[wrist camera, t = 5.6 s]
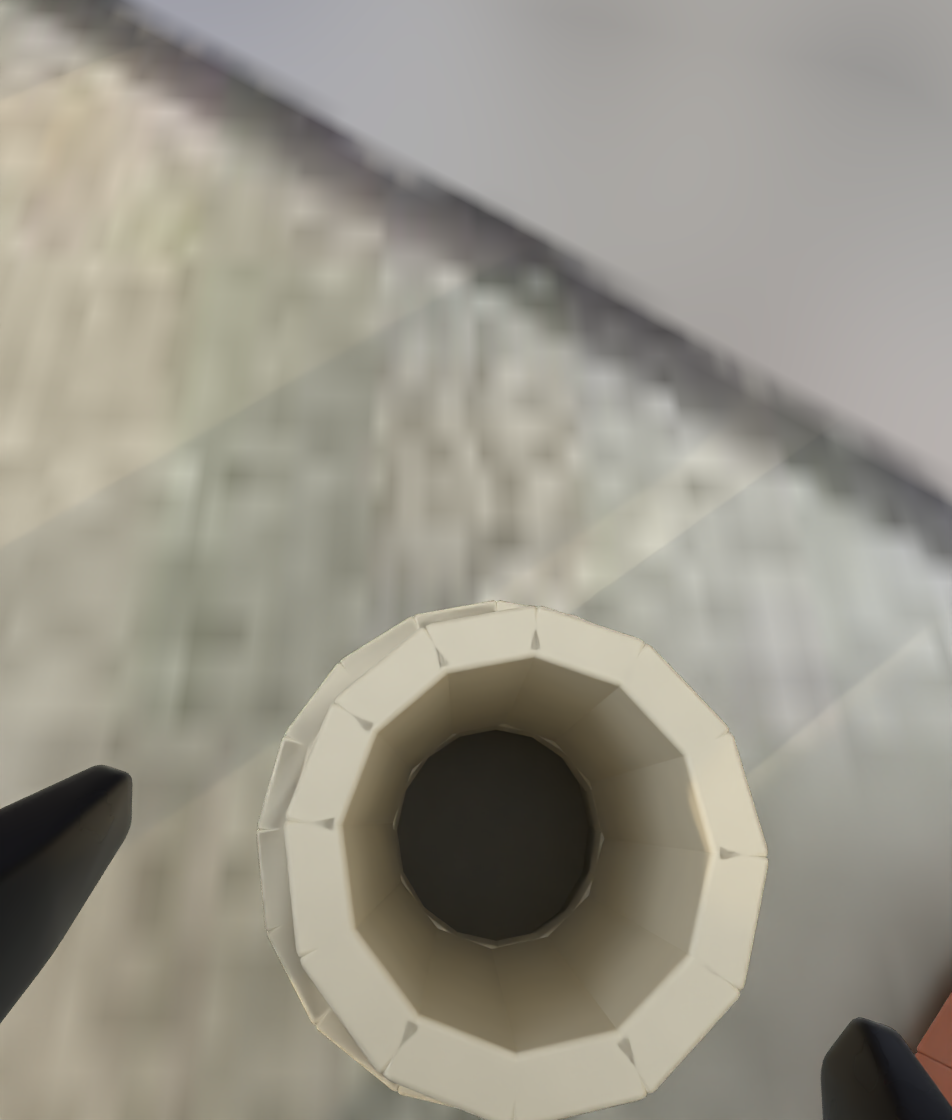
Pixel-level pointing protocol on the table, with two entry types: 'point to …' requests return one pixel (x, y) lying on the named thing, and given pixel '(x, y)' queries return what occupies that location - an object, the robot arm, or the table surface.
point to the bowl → (939, 1050)
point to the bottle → (511, 862)
